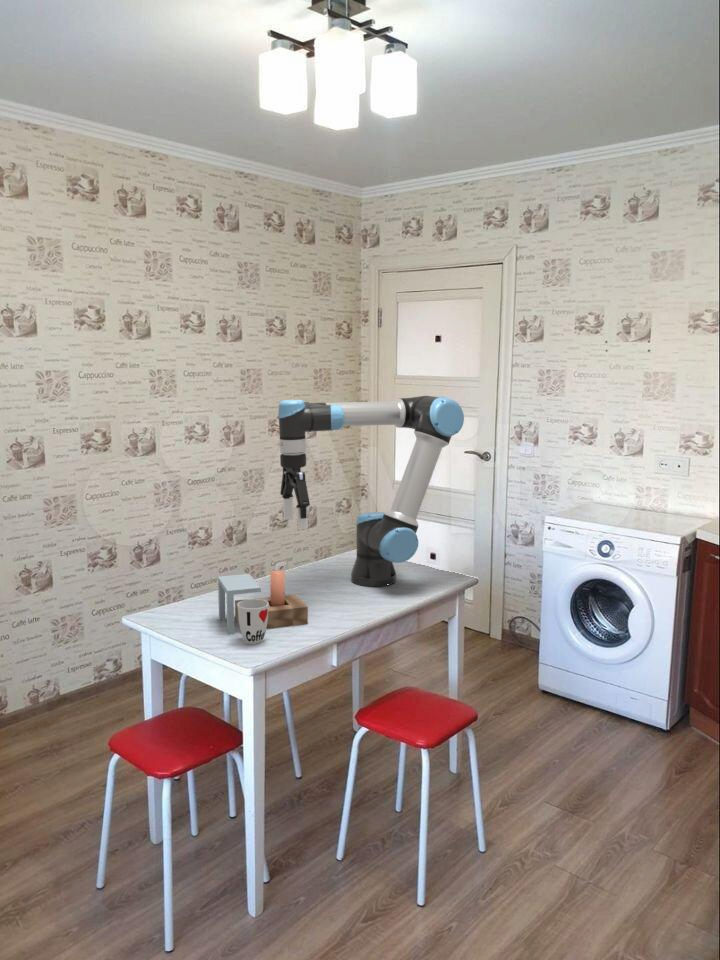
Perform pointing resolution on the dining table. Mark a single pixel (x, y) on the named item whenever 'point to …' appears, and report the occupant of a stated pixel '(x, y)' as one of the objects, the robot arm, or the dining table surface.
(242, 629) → the cup
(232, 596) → the grey-blue stool
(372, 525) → the robot arm
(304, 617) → the socket block
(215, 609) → the dining table surface
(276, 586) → the dowel
